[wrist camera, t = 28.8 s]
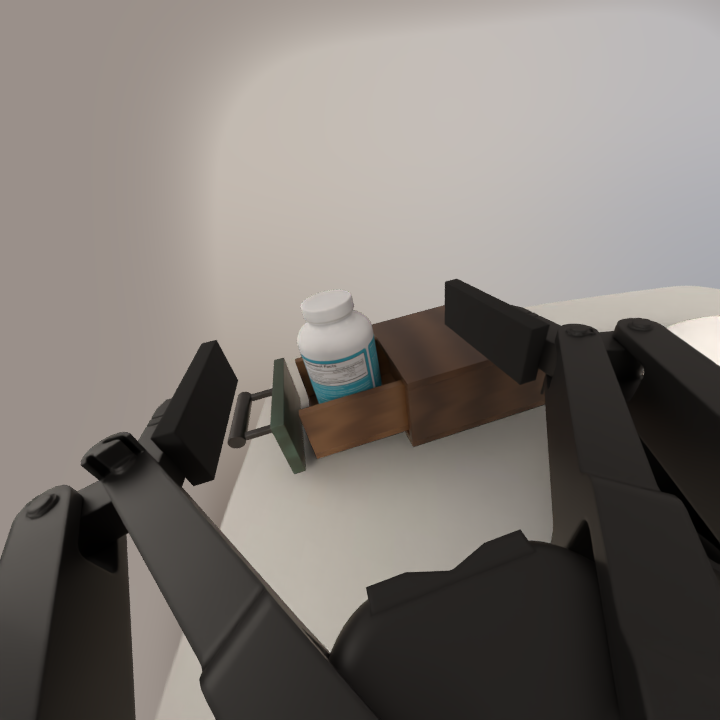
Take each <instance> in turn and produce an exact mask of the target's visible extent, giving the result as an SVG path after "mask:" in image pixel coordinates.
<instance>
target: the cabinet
mask: <svg viewBox="0 0 720 720" xmlns="http://www.w3.org/2000/svg"><path fill="white" fill-rule="evenodd" d="M372 328H373V334H374V338H375V340H376V341H377V343H378V344H379V346H380V348H381V349H382V351H383V352H384V354H385V355H386V357H387V359H388V360H389V362H390V363H391V365H392V366H393V368H394V370H395V371H396V373H397V374H398V376H399V378H400V379H401V381H402V382H403V384H404V385H405V394H406V404H407V414H408V424H409V430H407V431H405V432H406V434H407V436H408V438H409V440H410V442H411V444H412V446H413V447H415V446H418V445H421V444H424V443H427V442H430V441H433V440H436V439H440V438H443V437H446V436H449V435H452V434H455V433H458V432H461V431H464V430H467V429H470V428H473V427H476V426H480V425H483V424H486V423H489V422H492V421H495V420H498V419H501V418H504V417H507V416H510V415H513V414H516V413H520V412H523V411H526V410H529V409H532V408H535V407H538V406H541V405H544V404H545V392H544V393H543V394H540V392H541V389H542V385H543V382H544V378H545V374H546V373H544V372H543V371H541V370H540V369H538V373H537V377H536V380H535V381H532V382H528V383H525V384H522V385H519V384H518V383H517V382H516V381H514V380H513V379H512V378H511V377H509V376H508V375H507V374H506V373H505V372H503V371H502V370H501V369H500V368H498V367H497V366H496V365H495V364H493V363H492V362H491V361H490V360H488V359H487V358H486V357H485V356H484V355H482V354H481V353H480V352H479V351H477V350H476V349H475V348H474V347H472V346H471V345H470V344H469V343H467V342H466V341H465V340H464V339H462V338H461V337H460V336H459V335H458V334H456V333H455V332H454V331H453V330H451V329H450V328H449V327H448V326H446V325H445V305H443V306H440V307H436V308H432V309H428V310H425V311H421V312H417V313H414V314H410V315H406V316H402V317H399V318H395V319H391V320H388V321H384V322H380V323H376V324H373V325H372Z"/></svg>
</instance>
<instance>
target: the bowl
mask: <svg viewBox="0 0 720 720" xmlns="http://www.w3.org/2000/svg"><path fill="white" fill-rule="evenodd" d="M667 329H668V330H670V331H671V332H672V333H674V334H675V335H677V336H678V337H679V338H681V339H682V340H684V341H685V342H686V343H688V344H689V345H691V346H692V347H693V348H695V349H696V350H698V351H699V352H701V353H702V354H703V355H705V356H706V357H708V358H709V359H710V360H712V361H713V362H715V363H716V364H717V365H719V366H720V315H719V316H707V317H700V318H695V319H689V320H685V321H682V322H679V323H676V324H673V325H670V326H668V327H667Z"/></svg>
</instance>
